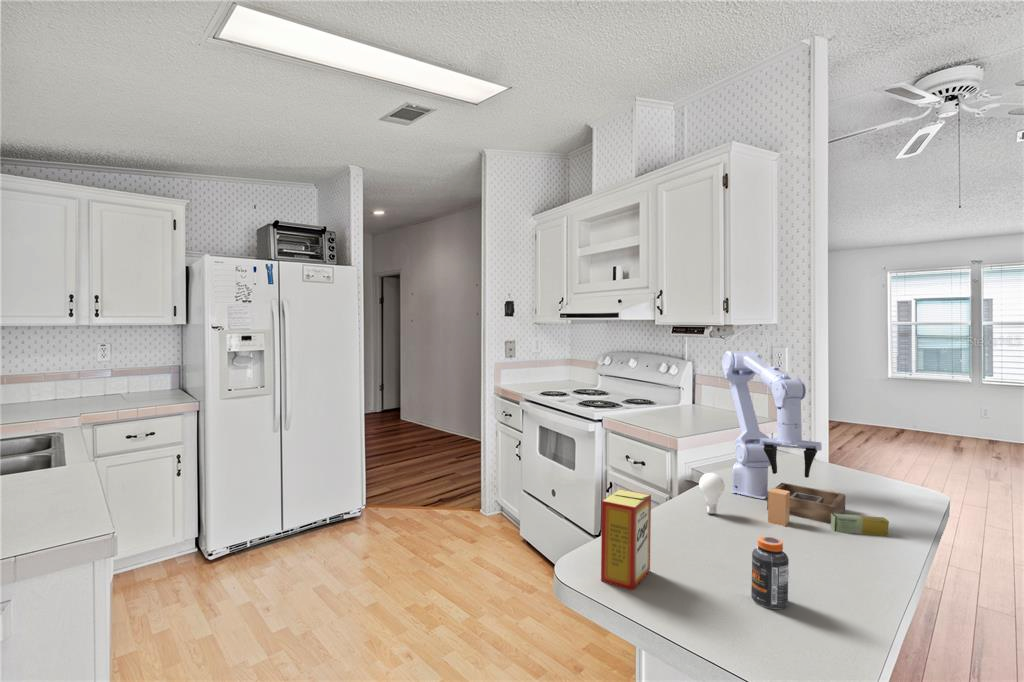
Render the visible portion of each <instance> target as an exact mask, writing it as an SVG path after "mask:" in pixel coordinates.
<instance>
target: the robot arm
mask: <svg viewBox="0 0 1024 682" xmlns="http://www.w3.org/2000/svg"><path fill="white" fill-rule="evenodd" d="M721 366H722V370H723V375H724V377H725V380H726V381H728V382H729V383H728V384H729V388H730V392H731V396H732V399H733V404H734V408H735V412H736V416H737V421H738V425H739V428H740V434H739V435H738V436H737V437H736V438H735V440H734V447H735V448H734V454H735V457H736V460H737V461H736V462H735V463H734V464H733V467H732V479H731V483H732V484H731V489H732V490H731V491H730V492H733V493H732V494H735V493H737V494H736V495H740V494H741V496H746V497H749V498H754V499H760V500H766V499H767V493H768V492H769V491H770V490H768V489H769V488H768V485H769V483H768V482H769V467H770V468H771V472H772V474H773V475H776V474H778V463H777V461H778V460H777V456H778V455H777V452H778V447H779V448H790V449H791V448H792V449H801V450H802V449H803V456H804V457H803V458H804V478H809V477H810V471H811V467H812V464H813V462H814V459H815V457H816V455H817V453H818V451H820V452H821V451H822V445H823V444H822V442H821V441H820V442H819V441H810V440H804V439H803V437H802V436H803V435H802V433H803V431H802V400H803V399H805V397H806V393H807V392H806V391H807V390H806V389H807V388H806V385H805V383H804V382H803V380H802V379H801V378H791V377H790V376H789V375H788V374H787V373H784V372H783V371H782V370H780V367H778V365H777V366H776V365H774V366H768V364H766V362H764V361H763V360H762V357H761V354H760V353H758V352H757V351H756V350H751V351H731V350H727V351H725V352H724V354H723V356H722V360H721ZM755 375H758V376H759V378H760V381H761V383H762V384H763V385H765V386H766V387H767V388H768V389H770V391H771V393H772V397H773V399H774V405H775V407H776V413H777V414H776V417H777V419H776V420H777V423H776V424H777V438H773V437H769V435H767V434H766V433H763V432H762V431H761V430H760V426H759V423H758V420H757V415H756V413H755V411H756V410H755V409H754V408H755V407H754V404H753V401H752V397H751V392H750V389H749V384H748V383H749V381H751V380H753V379H754V377H755Z"/></svg>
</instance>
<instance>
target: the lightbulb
mask: <svg viewBox="0 0 1024 682" xmlns="http://www.w3.org/2000/svg"><path fill="white" fill-rule="evenodd" d="M698 482H699V483H698V486H699V490H700V492H701V493H702V495H703V496H704V500H705V505H706V506H705V511H706V513H708V514H709V513H710V514H709V515H715V514H716V513H717V511H718V509H717V507H718V503H719V499H720V497H721V495H722V494H723V492H724V491H725V487H726V485H725V481H724V479H723V478H722V476H720V475H719V474H717V473H715V472H706V473H704V474H702V476H700V478H699V481H698Z"/></svg>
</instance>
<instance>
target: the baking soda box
mask: <svg viewBox="0 0 1024 682" xmlns="http://www.w3.org/2000/svg"><path fill="white" fill-rule="evenodd" d="M651 508H652V494H648V493H645V492H644V493H643V492H638V491H632V490H628V489H622V488H620V489H618V490H617V491H616V492H614V493H612V494H611V495H609V496H608V497H606V498H604V499H603V500H602V501H601V549H600V551H601V553H600V554H601V555H600V556H601V558H600V559H601V561H600V562H601V564H600V567H601V568H600V570H601V571H600V581H601V582H603V581H605V582H604V583H606V582H608V583H607V584H609V583H611V584H610V585H613V584H614V586H616V585H617V587H620V588H623V589H627V590H630V591H634V590H635V589H637V587H638V586H639V585H640V584H641V582H642V581H643V580H644V579H645V578H644V577H646V576H647V575H648V574H649V573H650V572H649V570H650V571H651V530H652V529H651V525H652V524H651V522H652V521H651V520H652V519H651V518H652V517H651V516H652V515H651V514H652V513H651V511H652V509H651ZM648 572H649V573H648ZM647 573H648V574H647ZM646 574H647V575H646ZM645 575H646V576H645ZM643 578H644V579H643ZM642 579H643V580H642ZM641 580H642V581H641ZM640 581H641V582H640ZM637 585H638V586H637Z"/></svg>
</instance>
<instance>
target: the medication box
mask: <svg viewBox="0 0 1024 682" xmlns="http://www.w3.org/2000/svg"><path fill="white" fill-rule="evenodd" d="M889 524H890V521H889V520H888V519H887V518H886V517H882V516H869V515H859V514H858V515H857V514H846V513H843V514H836V513H831V524H830V525H829V526H830V529H831V531H833V532H836V531H838V532H839V533H847V534H848V533H849V534H850V533H851V534H863V535H865V534H866V535H874V536H887V535H889ZM838 532H837V533H838ZM887 537H888V536H887Z"/></svg>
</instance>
